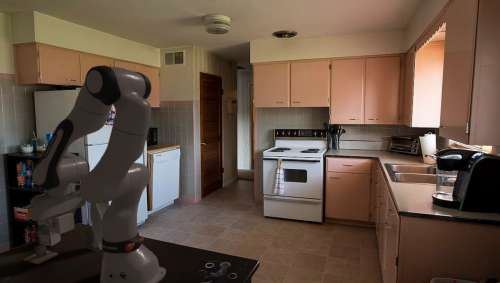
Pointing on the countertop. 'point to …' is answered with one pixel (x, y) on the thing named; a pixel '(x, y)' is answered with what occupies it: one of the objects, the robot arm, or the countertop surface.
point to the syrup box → (47, 234)
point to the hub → (40, 255)
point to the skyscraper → (96, 225)
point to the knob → (62, 223)
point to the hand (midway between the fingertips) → (61, 224)
